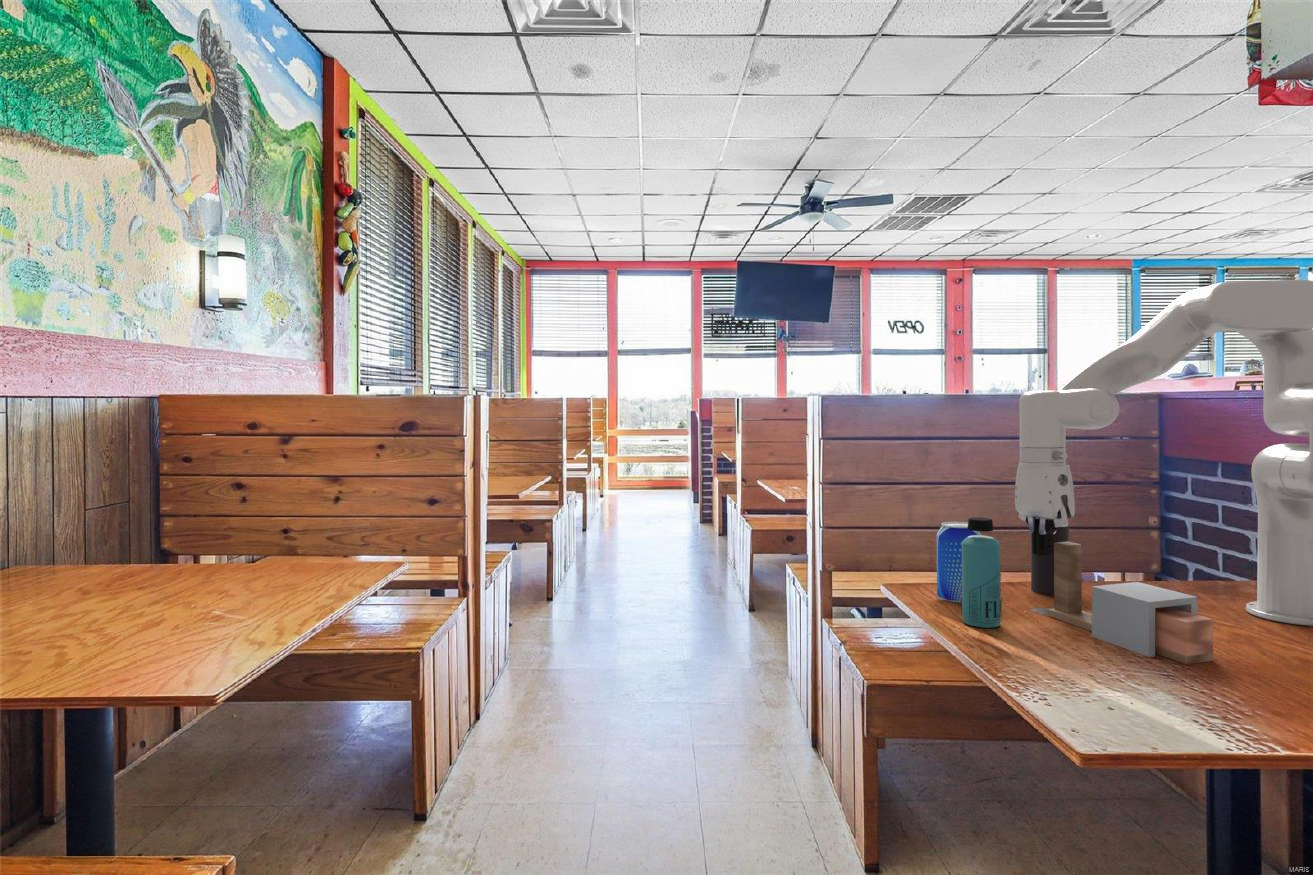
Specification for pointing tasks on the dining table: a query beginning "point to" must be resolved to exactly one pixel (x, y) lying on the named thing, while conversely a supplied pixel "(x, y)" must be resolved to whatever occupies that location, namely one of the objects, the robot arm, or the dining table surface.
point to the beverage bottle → (981, 576)
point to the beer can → (951, 559)
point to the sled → (1173, 628)
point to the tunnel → (1133, 613)
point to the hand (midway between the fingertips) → (1042, 554)
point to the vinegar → (1046, 566)
